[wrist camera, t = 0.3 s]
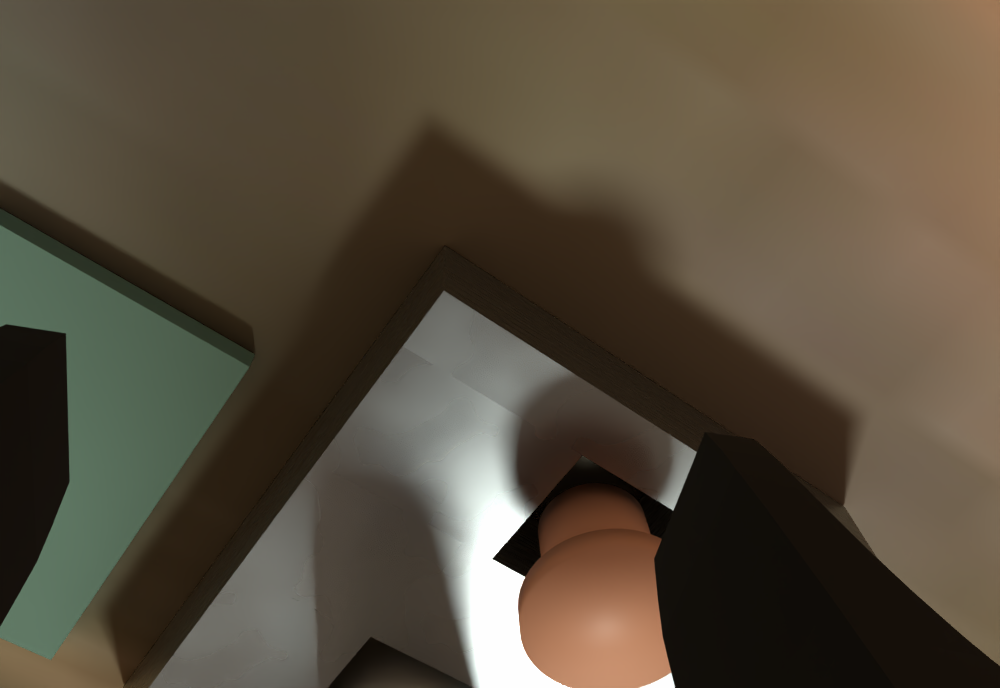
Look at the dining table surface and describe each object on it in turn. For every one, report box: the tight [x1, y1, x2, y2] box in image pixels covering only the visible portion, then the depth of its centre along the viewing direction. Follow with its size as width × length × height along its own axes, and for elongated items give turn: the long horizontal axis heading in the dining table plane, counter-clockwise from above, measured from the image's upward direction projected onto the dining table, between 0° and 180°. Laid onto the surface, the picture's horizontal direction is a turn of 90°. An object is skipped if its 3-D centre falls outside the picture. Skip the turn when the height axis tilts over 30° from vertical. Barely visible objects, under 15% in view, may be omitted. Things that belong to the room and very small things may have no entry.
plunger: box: [517, 483, 671, 688], centre depth 19 cm, size 4×4×3 cm
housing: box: [123, 246, 877, 688], centre depth 23 cm, size 15×12×2 cm
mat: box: [0, 208, 255, 660], centre depth 21 cm, size 10×6×1 cm, turn 144°
